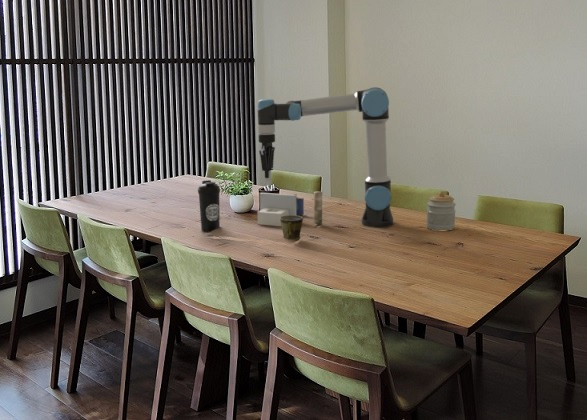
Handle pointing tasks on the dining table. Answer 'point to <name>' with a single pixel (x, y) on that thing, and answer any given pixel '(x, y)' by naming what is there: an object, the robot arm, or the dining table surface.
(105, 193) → the dining table surface
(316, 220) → the dowel
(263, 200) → the backstop wall
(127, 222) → the dining table surface
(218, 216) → the water bottle
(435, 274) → the dining table surface
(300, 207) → the flask
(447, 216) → the jar
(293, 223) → the ceramic cup
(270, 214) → the sliding block
